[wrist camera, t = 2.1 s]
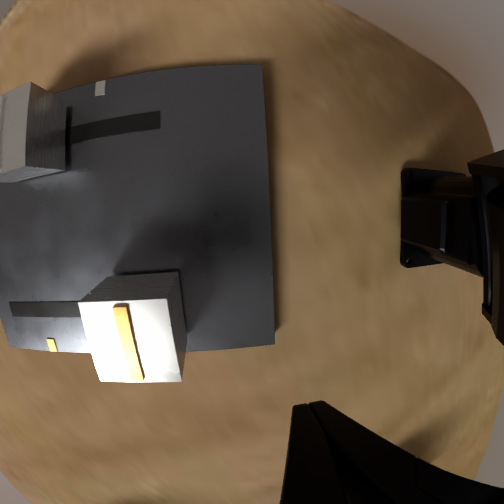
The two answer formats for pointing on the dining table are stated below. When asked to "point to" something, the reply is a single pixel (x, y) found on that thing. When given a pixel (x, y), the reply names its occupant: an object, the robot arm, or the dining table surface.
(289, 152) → the dining table surface
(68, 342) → the plate
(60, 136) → the fader
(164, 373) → the fader
